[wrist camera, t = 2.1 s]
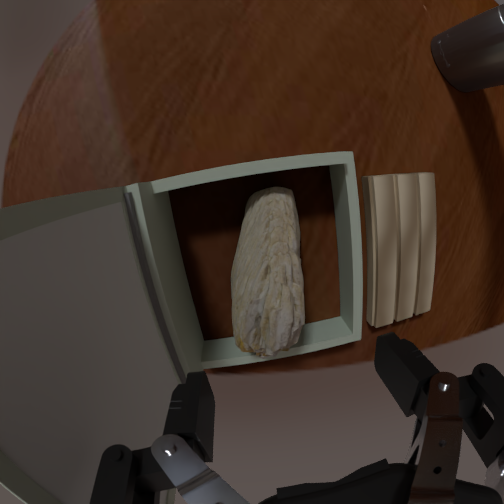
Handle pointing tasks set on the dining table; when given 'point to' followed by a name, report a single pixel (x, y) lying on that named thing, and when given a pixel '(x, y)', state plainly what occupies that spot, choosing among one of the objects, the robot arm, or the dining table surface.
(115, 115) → the dining table surface
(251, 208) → the fossil tooth
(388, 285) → the slatted stand
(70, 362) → the cold frame
